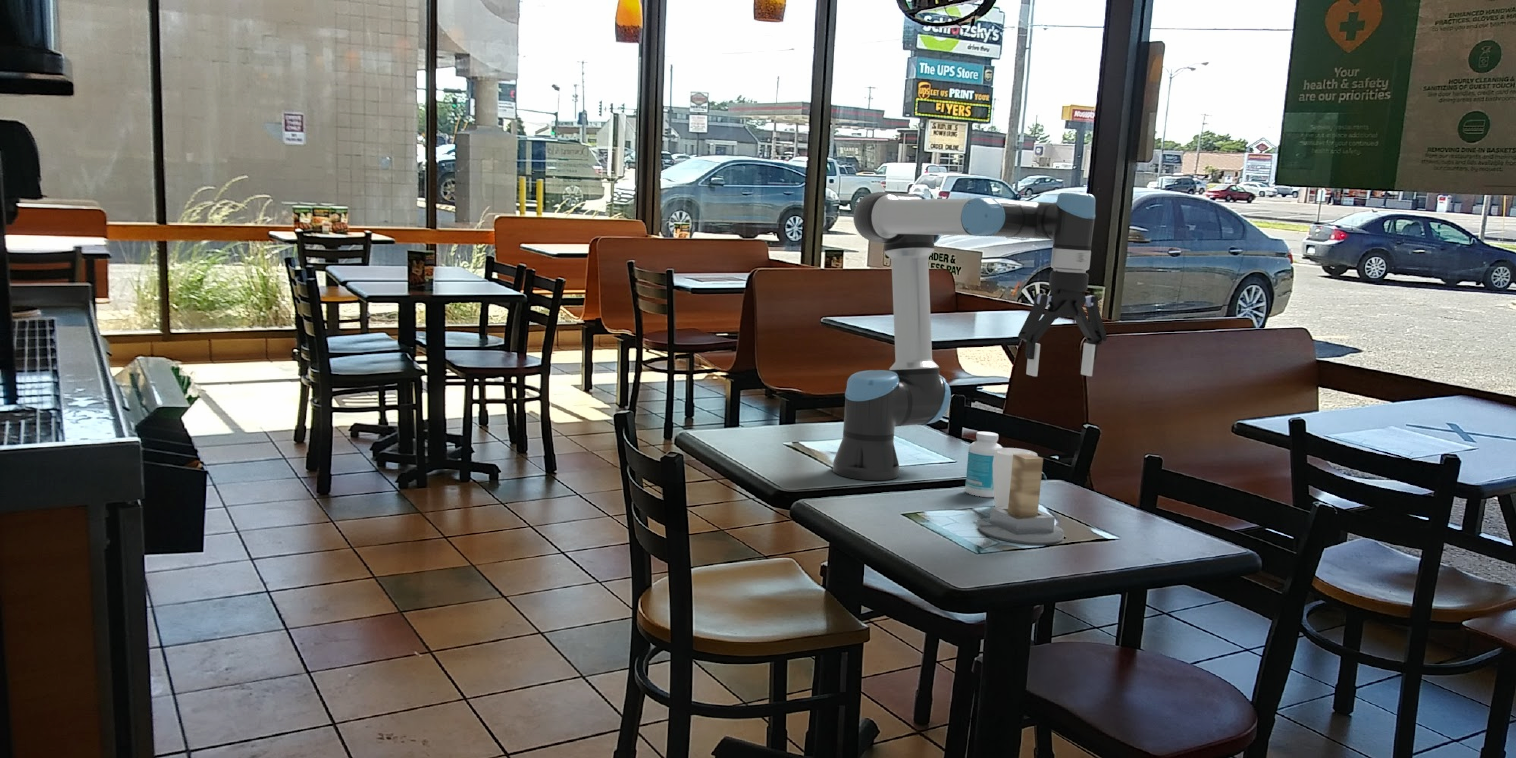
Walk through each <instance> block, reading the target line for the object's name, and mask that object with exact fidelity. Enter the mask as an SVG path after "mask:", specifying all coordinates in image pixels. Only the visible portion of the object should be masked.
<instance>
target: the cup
mask: <svg viewBox="0 0 1516 758" xmlns="http://www.w3.org/2000/svg"><path fill="white" fill-rule="evenodd" d="M1013 454H1033V455H1035V456H1038V453H1037V452H1036V451H1033V450H1028V449H1025V448H1017V447H1015V448H1014V447H1002V448H998V449H995V452H994V458H993V485H994V497H993V501H994V507H1008V504H1009V494H1010V483H1011V472H1012V462H1013Z"/></svg>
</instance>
